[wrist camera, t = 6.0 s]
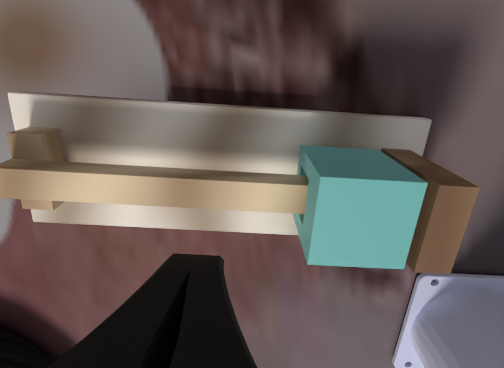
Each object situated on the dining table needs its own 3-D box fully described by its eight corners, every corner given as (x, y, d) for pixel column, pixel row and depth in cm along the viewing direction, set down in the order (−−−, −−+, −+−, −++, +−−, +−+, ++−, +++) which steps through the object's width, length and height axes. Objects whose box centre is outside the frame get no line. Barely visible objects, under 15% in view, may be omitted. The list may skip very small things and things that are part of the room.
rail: (423, 117, 17) (515, 146, 11) (394, 233, 19) (456, 306, 14) (18, 91, 16) (-110, 107, 10) (41, 215, 19) (-51, 284, 13)
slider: (378, 149, 16) (427, 182, 12) (364, 216, 18) (403, 269, 13) (300, 145, 16) (320, 176, 12) (292, 212, 17) (307, 264, 13)
